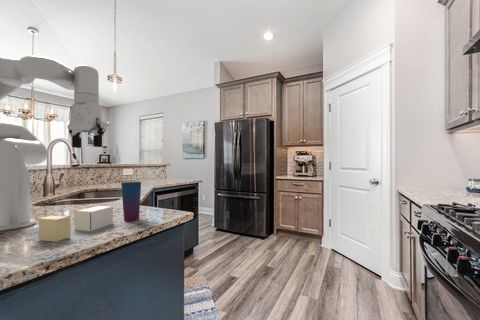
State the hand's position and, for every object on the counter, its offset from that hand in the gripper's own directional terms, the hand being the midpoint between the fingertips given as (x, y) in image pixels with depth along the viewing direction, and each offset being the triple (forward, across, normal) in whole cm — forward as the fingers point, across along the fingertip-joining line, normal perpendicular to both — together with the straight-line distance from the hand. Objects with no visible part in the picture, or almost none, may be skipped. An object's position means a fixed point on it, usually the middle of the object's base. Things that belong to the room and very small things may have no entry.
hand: (87, 147), depth 83 cm
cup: (+28, +14, +6) cm, 32 cm away
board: (+28, +8, -10) cm, 31 cm away
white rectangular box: (+28, +8, -4) cm, 29 cm away
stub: (+28, +8, -17) cm, 33 cm away
